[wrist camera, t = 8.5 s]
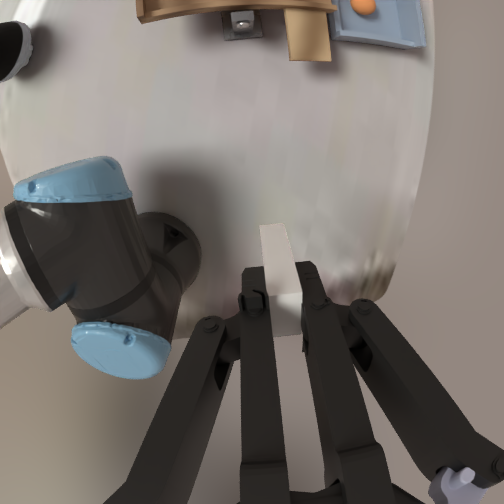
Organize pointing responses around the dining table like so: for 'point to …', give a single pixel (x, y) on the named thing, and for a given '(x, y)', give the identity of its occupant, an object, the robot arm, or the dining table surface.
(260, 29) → the stand
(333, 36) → the tray
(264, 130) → the dining table surface
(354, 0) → the ball
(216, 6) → the lever
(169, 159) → the dining table surface
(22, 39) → the toy
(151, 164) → the dining table surface
